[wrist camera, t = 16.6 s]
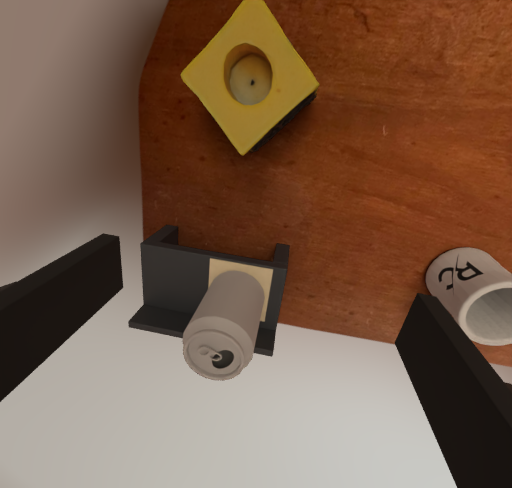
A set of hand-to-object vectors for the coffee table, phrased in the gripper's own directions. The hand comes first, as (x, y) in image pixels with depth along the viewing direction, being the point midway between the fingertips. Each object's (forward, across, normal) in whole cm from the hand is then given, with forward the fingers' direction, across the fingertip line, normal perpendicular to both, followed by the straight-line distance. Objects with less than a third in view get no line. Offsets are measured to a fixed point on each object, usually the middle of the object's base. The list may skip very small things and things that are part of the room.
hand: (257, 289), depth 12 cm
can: (+21, -4, -15) cm, 26 cm away
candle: (+29, -5, +10) cm, 31 cm away
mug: (+29, +27, -11) cm, 41 cm away
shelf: (+29, -8, -16) cm, 34 cm away
